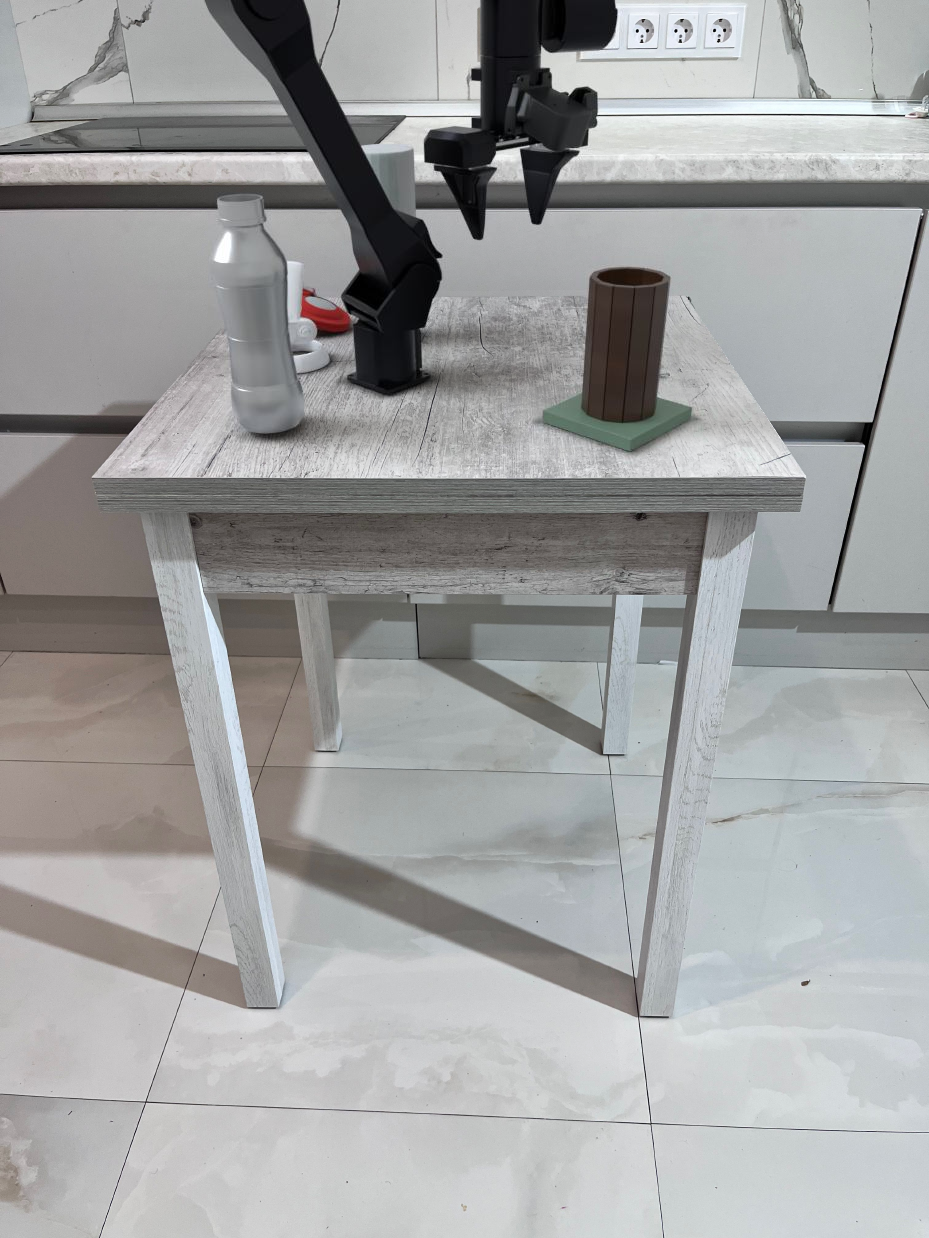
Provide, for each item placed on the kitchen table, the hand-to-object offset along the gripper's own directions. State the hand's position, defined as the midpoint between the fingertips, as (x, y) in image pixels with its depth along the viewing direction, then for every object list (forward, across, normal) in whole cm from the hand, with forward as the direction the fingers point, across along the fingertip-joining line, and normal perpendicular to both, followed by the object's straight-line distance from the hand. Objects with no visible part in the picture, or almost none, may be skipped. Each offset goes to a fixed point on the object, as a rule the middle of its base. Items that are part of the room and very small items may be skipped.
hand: (508, 231), depth 96 cm
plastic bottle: (+13, -30, +3) cm, 33 cm away
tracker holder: (+13, -7, +25) cm, 29 cm away
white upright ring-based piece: (+13, -17, +16) cm, 27 cm away
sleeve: (+12, -7, -20) cm, 24 cm away
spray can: (+13, -4, +14) cm, 20 cm away
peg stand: (+13, -7, -20) cm, 25 cm away
